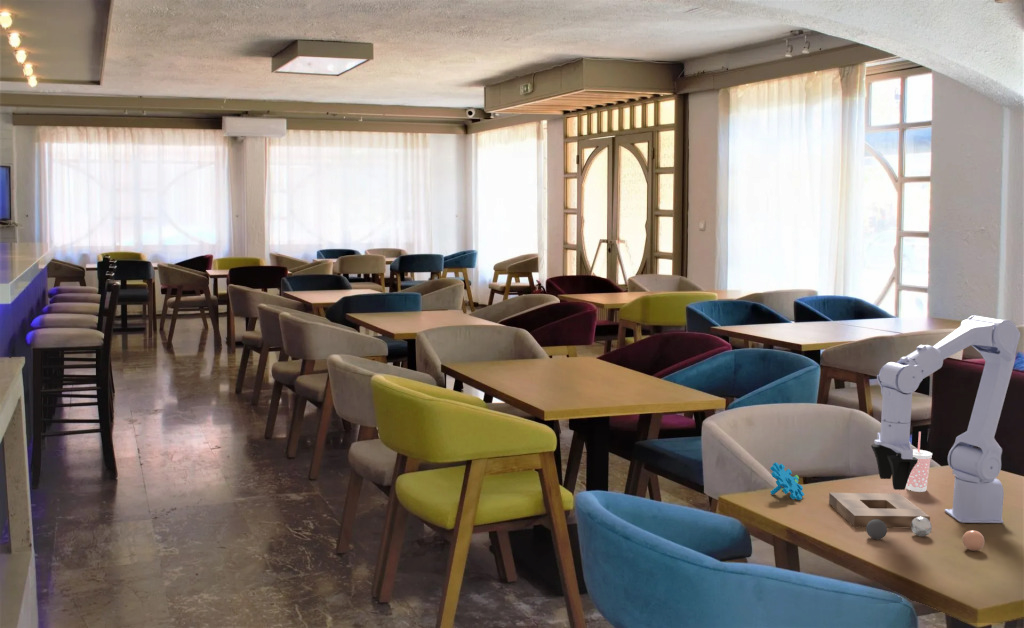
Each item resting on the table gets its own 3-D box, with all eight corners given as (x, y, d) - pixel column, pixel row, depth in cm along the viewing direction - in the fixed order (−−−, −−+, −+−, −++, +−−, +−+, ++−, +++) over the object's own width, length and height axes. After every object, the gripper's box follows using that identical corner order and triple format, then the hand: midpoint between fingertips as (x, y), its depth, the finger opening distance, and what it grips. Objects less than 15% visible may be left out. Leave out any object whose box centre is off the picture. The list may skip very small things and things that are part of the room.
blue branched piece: (794, 499, 221) (768, 462, 226) (774, 513, 224) (749, 476, 229) (814, 494, 230) (789, 459, 234) (795, 508, 233) (771, 473, 237)
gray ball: (881, 535, 203) (883, 516, 203) (889, 542, 199) (890, 523, 199) (862, 535, 203) (863, 516, 203) (869, 542, 199) (871, 522, 199)
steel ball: (926, 532, 205) (927, 514, 205) (934, 539, 201) (935, 520, 201) (906, 532, 205) (908, 513, 205) (914, 539, 201) (916, 520, 201)
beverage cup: (900, 484, 240) (903, 428, 238) (926, 486, 238) (930, 429, 237) (905, 491, 234) (908, 434, 232) (932, 493, 233) (936, 435, 231)
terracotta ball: (977, 546, 197) (979, 527, 197) (987, 553, 193) (989, 534, 193) (958, 546, 197) (959, 527, 197) (967, 553, 193) (968, 534, 193)
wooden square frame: (898, 504, 224) (899, 493, 224) (929, 527, 208) (930, 516, 208) (828, 503, 224) (829, 492, 224) (854, 527, 208) (854, 515, 208)
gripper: (864, 412, 212) (860, 473, 214) (889, 428, 198) (885, 494, 199) (897, 412, 212) (893, 474, 214) (924, 428, 198) (920, 494, 199)
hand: (892, 483), depth 207 cm, fingers open, 7 cm apart
